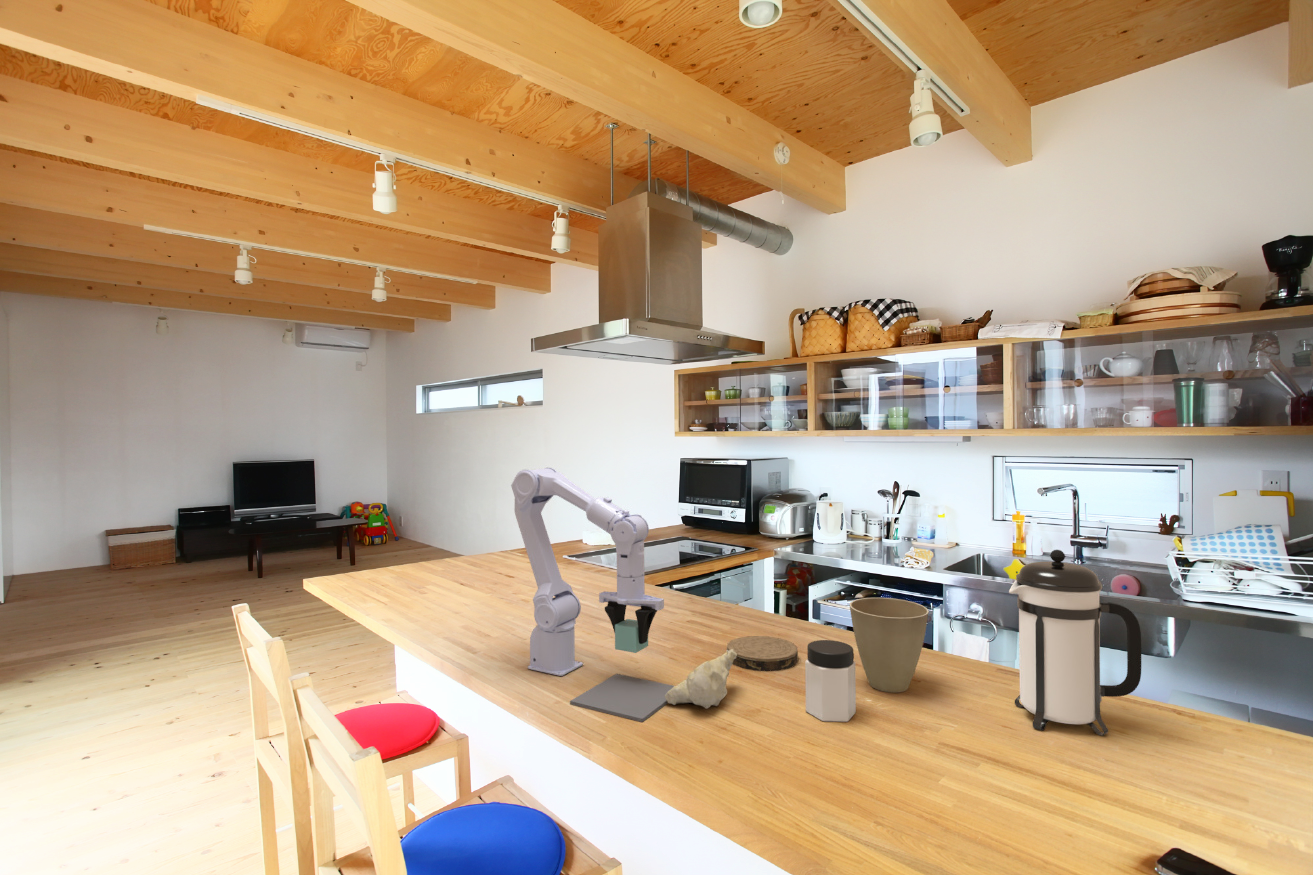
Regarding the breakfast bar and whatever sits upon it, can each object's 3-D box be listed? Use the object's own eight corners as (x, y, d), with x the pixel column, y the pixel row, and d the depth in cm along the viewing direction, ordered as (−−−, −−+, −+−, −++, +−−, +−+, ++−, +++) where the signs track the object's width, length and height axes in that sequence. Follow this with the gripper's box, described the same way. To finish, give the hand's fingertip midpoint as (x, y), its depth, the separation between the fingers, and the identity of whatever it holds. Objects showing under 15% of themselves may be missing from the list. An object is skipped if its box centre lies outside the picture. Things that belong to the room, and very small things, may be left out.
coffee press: (1085, 750, 102) (1084, 562, 102) (992, 712, 116) (991, 547, 116) (1144, 726, 110) (1142, 552, 110) (1050, 694, 124) (1048, 539, 124)
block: (615, 649, 131) (614, 624, 131) (627, 642, 136) (627, 618, 136) (636, 652, 129) (635, 628, 129) (648, 645, 133) (648, 621, 133)
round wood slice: (778, 678, 134) (778, 664, 134) (713, 662, 144) (713, 649, 144) (809, 657, 147) (809, 644, 147) (748, 644, 156) (748, 631, 156)
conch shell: (681, 733, 113) (746, 679, 113) (656, 697, 116) (720, 644, 116) (697, 724, 127) (755, 676, 127) (675, 692, 130) (732, 645, 130)
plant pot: (837, 687, 128) (836, 607, 128) (869, 667, 139) (868, 593, 139) (911, 708, 118) (911, 621, 118) (940, 684, 129) (939, 605, 129)
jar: (865, 717, 114) (865, 650, 114) (830, 726, 111) (829, 657, 111) (831, 699, 122) (831, 636, 122) (797, 707, 119) (796, 642, 119)
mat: (570, 704, 121) (570, 700, 121) (616, 676, 135) (616, 673, 135) (642, 722, 113) (642, 718, 113) (684, 690, 127) (684, 687, 127)
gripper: (590, 575, 132) (591, 640, 132) (651, 582, 125) (652, 651, 125) (609, 568, 138) (610, 631, 138) (668, 575, 131) (669, 641, 131)
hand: (631, 640), depth 132 cm, fingers closed on block, 5 cm apart
